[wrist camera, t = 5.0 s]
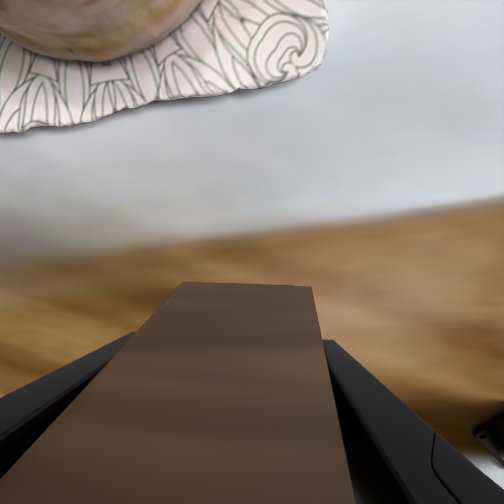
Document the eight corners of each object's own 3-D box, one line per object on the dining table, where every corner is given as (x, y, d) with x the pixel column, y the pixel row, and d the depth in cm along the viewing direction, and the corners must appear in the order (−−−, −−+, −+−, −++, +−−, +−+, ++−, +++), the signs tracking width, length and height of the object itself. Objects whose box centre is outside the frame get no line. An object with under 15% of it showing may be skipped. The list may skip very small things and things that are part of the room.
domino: (183, 281, 11) (-62, 545, 3) (311, 286, 10) (380, 627, 3) (187, 325, 11) (-13, 638, 4) (308, 332, 11) (359, 723, 3)
